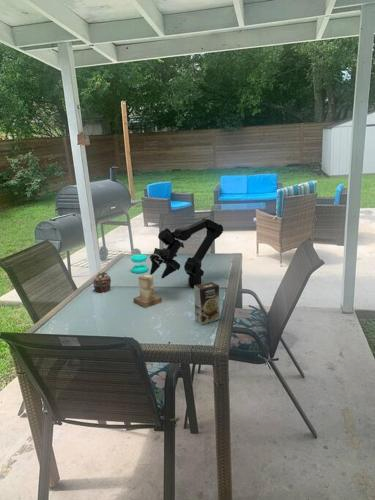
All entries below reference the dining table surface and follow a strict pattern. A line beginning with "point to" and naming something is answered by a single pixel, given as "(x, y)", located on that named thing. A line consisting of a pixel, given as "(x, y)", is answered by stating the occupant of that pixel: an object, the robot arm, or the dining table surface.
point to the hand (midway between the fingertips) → (156, 276)
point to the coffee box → (206, 302)
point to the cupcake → (102, 283)
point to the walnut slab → (147, 301)
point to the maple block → (146, 287)
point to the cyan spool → (139, 259)
